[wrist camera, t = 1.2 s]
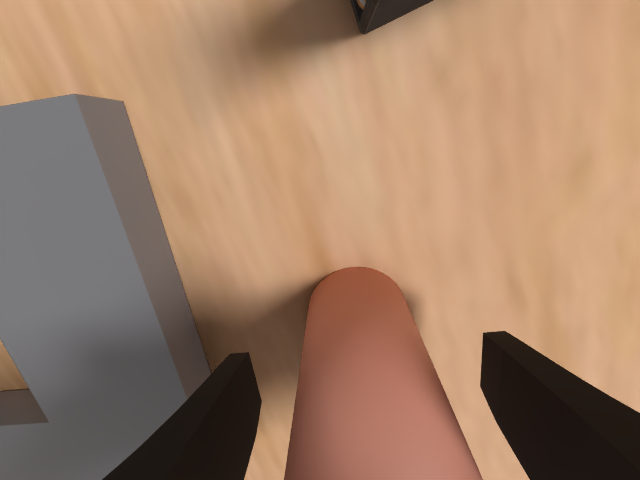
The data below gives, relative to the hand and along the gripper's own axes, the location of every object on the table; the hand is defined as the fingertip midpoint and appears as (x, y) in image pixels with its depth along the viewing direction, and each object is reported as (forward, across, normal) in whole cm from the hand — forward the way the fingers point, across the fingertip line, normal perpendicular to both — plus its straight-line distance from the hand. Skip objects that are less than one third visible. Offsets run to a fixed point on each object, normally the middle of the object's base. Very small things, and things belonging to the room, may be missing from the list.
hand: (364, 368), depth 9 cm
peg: (+3, 0, 0) cm, 3 cm away
